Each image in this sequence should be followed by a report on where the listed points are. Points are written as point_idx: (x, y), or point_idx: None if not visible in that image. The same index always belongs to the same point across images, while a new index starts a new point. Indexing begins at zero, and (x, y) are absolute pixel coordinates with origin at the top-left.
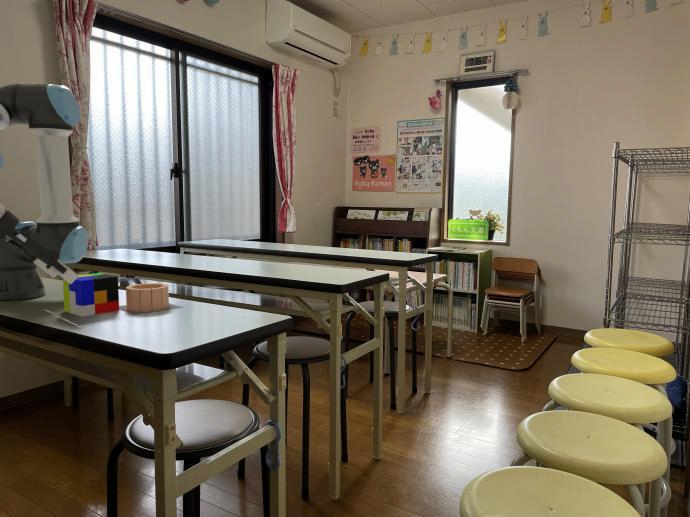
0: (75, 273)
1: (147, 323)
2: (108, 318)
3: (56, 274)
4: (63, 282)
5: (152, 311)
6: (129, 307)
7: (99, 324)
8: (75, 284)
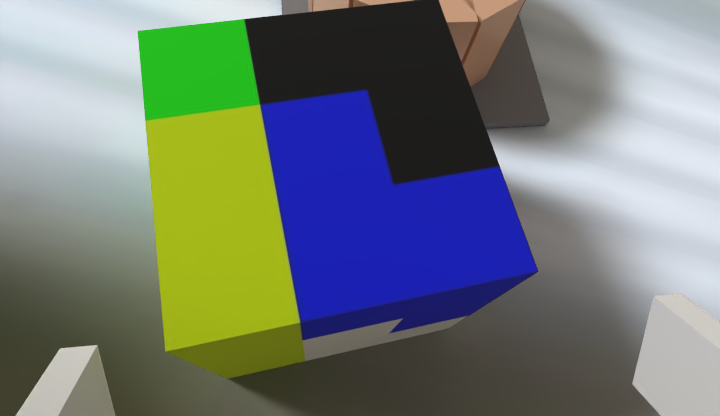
0: (716, 320)
1: (698, 128)
2: None
3: (108, 409)
4: (188, 355)
5: (511, 42)
6: None
7: (633, 294)
8: (426, 302)
